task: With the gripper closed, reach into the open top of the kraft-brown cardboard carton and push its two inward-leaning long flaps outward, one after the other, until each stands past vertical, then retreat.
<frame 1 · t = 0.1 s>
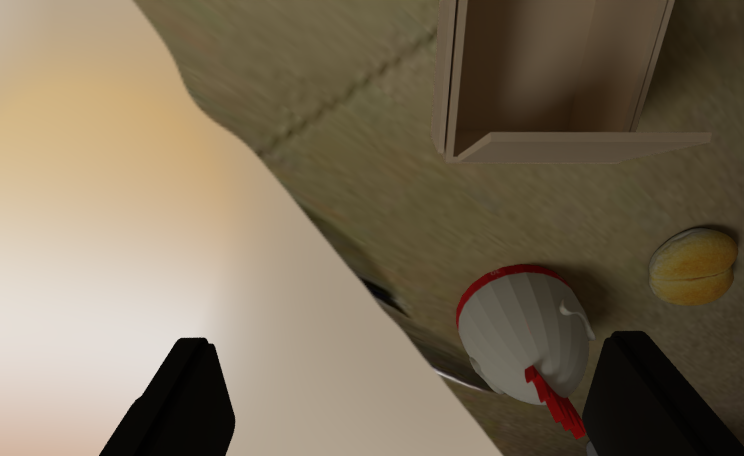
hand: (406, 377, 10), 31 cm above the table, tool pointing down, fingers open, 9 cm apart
kitchen timer: (513, 312, 48), on the table
bread roll: (683, 261, 45), on the table
flap 1: (562, 150, 25), point 13 cm above the table, hinge at -25.0°
carton: (514, 34, 34), on the table
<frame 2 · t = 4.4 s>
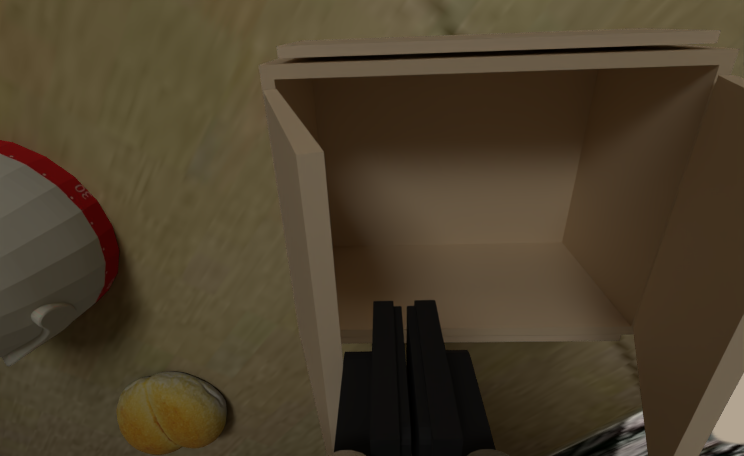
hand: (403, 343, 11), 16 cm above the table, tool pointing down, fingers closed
kitchen timer: (22, 231, 29), on the table
bread roll: (180, 399, 37), on the table
flap 1: (306, 284, 13), point 14 cm above the table, hinge at -18.7°, touching gripper
flap 2: (696, 275, 13), point 13 cm above the table, hinge at -25.0°
carton: (447, 157, 25), on the table
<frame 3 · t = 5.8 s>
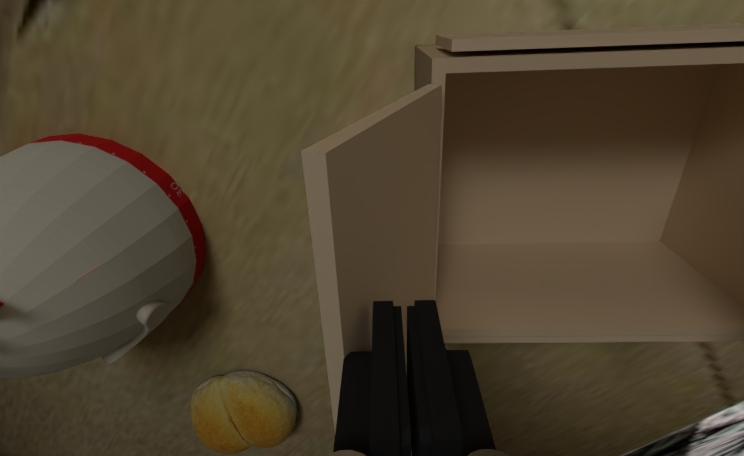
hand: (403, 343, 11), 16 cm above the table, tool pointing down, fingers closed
kitchen timer: (109, 229, 29), on the table
bread roll: (248, 398, 36), on the table
flap 1: (395, 282, 13), point 13 cm above the table, hinge at 21.0°, touching gripper
carton: (550, 155, 25), on the table
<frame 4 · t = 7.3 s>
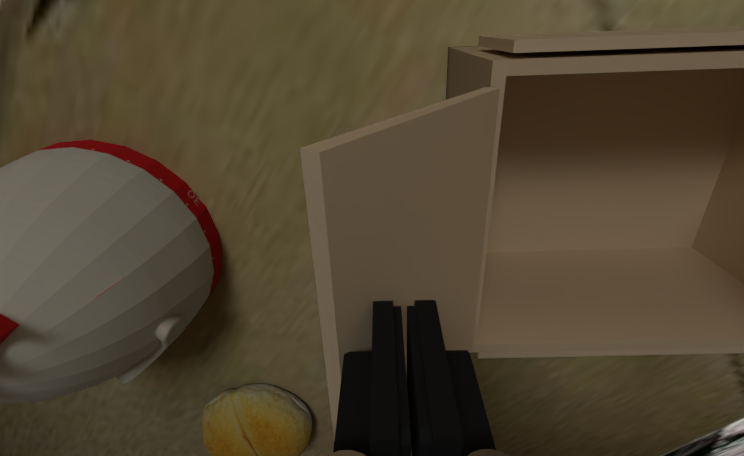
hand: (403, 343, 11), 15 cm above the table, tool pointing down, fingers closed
kitchen timer: (120, 240, 27), on the table
bread roll: (260, 412, 35), on the table
flap 1: (422, 290, 13), point 13 cm above the table, hinge at 36.6°, touching gripper
carton: (583, 160, 24), on the table
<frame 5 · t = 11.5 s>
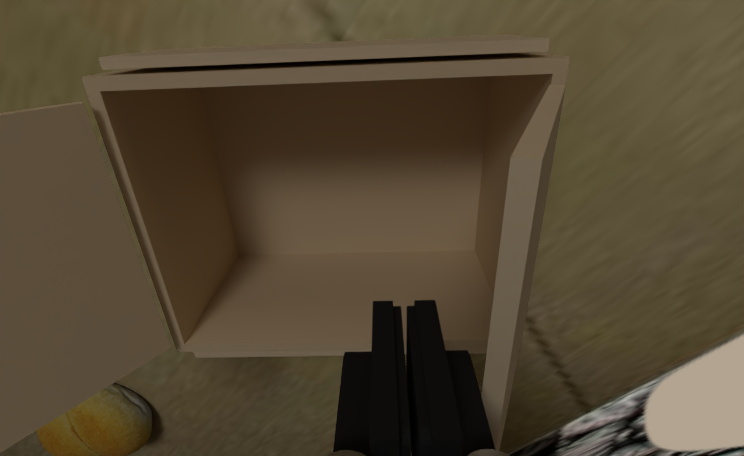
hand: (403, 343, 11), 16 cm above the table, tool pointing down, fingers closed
bread roll: (106, 407, 36), on the table
flap 1: (2, 293, 14), point 13 cm above the table, hinge at 36.7°
flap 2: (518, 293, 13), point 13 cm above the table, hinge at -24.3°, touching gripper
carton: (350, 165, 25), on the table
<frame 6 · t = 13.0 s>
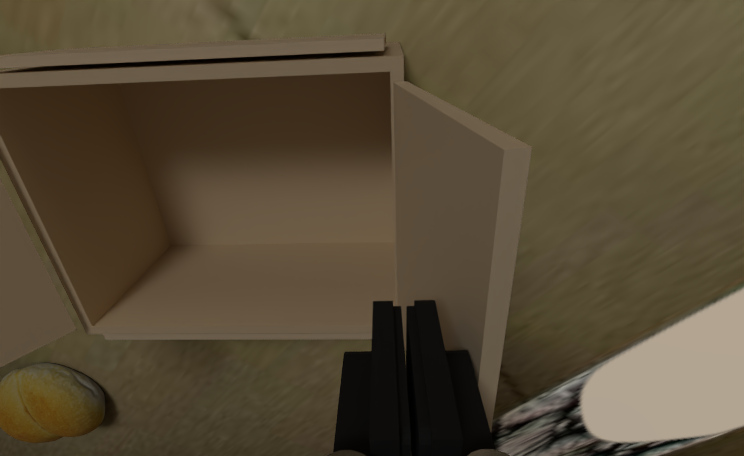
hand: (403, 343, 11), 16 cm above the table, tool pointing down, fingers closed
bread roll: (63, 390, 38), on the table
flap 2: (432, 281, 13), point 14 cm above the table, hinge at 12.3°, touching gripper
carton: (268, 159, 26), on the table
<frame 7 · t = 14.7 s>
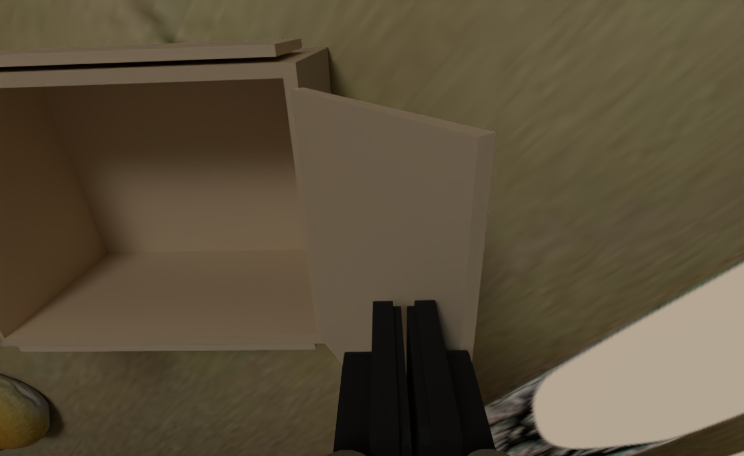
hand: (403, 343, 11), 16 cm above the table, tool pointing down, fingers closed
bread roll: (6, 400, 37), on the table
flap 2: (371, 279, 13), point 13 cm above the table, hinge at 35.6°, touching gripper
carton: (202, 165, 25), on the table
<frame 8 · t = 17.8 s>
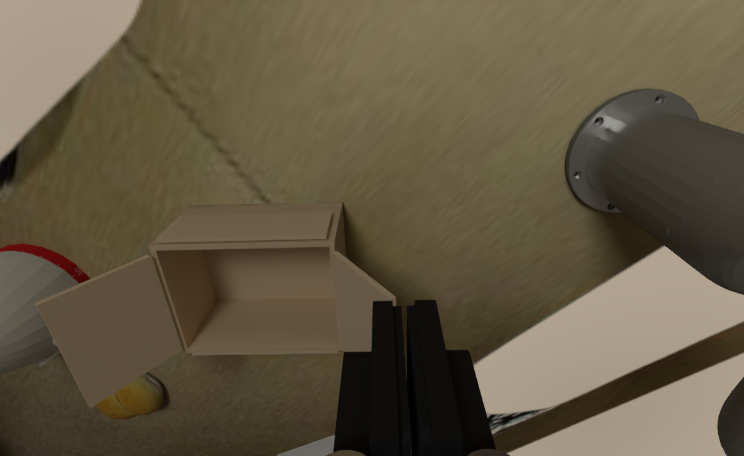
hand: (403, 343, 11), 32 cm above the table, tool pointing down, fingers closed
kitchen timer: (44, 290, 51), on the table
bread roll: (134, 385, 58), on the table
flap 1: (119, 330, 36), point 13 cm above the table, hinge at 36.7°
flap 2: (364, 326, 35), point 13 cm above the table, hinge at 35.8°
carton: (274, 254, 47), on the table
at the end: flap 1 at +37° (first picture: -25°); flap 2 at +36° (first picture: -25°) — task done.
